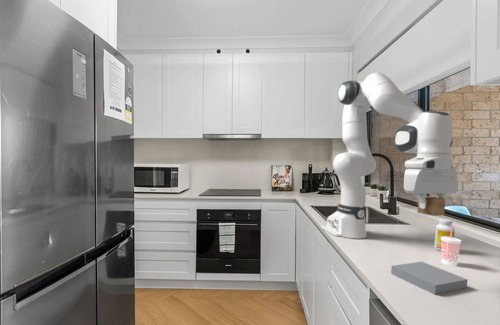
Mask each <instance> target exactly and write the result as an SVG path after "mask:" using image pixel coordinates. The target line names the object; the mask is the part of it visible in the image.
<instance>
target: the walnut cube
mask: <svg viewBox="0 0 500 325" xmlns="http://www.w3.org/2000/svg"><path fill="white" fill-rule="evenodd" d="M425 199H426V203H428V208H427V209H422V208H420V207H419V203H420V202H419V200H418V199H417V214H418V213H419V214H423V215H426V216H427V215H428V216H432V217H433V216H434V217H436V216H445V210H446V209H445V206H446V198H445V199H443V198H437V196H429V195H427V197H425Z"/></svg>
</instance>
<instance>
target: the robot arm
mask: <svg viewBox="0 0 500 325" xmlns="http://www.w3.org/2000/svg"><path fill="white" fill-rule="evenodd" d="M337 91H338V92H337V97H338V98H337V99H338V102H340V104H342V105H344V106H343V109H342V118H341V119H342V121H341V126H342V127H341V129H342V130H341V132H342V133H341V134H342V136H341V137H342V138H341V139H342V142H343V143H344V145H345V147H346V149H347V151H345V152H342V153H339V154H336V156H335V157H334V158H333V162H332V168H333V170H334V171H335V172H336V175H337V176H338V179H339V185H340V202H339V204H336V207H337V209H336V210H335V212H333V213H332V214H330V215H329V216H328V217H327V219H326V224H323V225H321V229H322V230H325V231H326V232H327V233H330V234H331V235H333V236H334V237H335V236H336V237H343V238H347V239H348V238H350V239H365V238H367V237H368V236H367V230H366V229H367V228H366V217H365V216H366V214H367V213H366V212H367V208H366V199H367V198H366V197H367V195H366V194H367V191H366V187H365V186H364V185H363V181H362V180H363V179H362V177H365V176H369V175H371V174H373V173H374V172H375V171H376V168H377V161H376V159H375V158H374V157H373V154H372V151H371V148H370V145H369V141H368V124H367V123H368V120H367V111H368V109H371V110H375V111H376V112H378V114H381V115H385V116H390V117H395V118H398V119H401V120H404V121H406V122H407V124H404V125H401V126H400V127H399V128H398V129H397V130H395V131H396V132H395V134H394V138H393V141H394V146H395V147H396V149H397V150H398V151H399V152H403V153H406V154H416V156H415V157H413V158H411V159H408V160H406V161H405V162H404V167H405V168H406V169H405V172H404V174H403V189H404V191H405V193H406V194H413V195H416V198H417V201H418V200H419V202H420V203H419V207H420V208H422V209H427V208H428V203H426V199H425V197H427V196H428V195H431V194H432V195H434V194H435V197H436V198H443V199H445V200H446V194H447V195H448V194H449V195H452V194H454V195H455V194H457V192H458V190H459V181H458V180H459V179H458V178H459V177H458V173H457V171H456V168H455V167H454V166H453V164H452V150H451V147H452V146H453V141H454V138H453V121H452V117H451V115H450V113H448V112H445V111H434V110H427V111H425V110H424V109H423V108H422V107H421V106H420V105H419V104H418V103H416V102H414V101H413V100H412V99H411V98H410V97H409V96H407V95H406V94H405V93H403V91H401V90H400V89H399V88H398V86H397V85H396V83H394V82H393V80H392V79H391V78H389V77H388V76H387V75H386V74H384V73H383V72H376V71H375V72H373V73H370V74H369V75H368V76H366V77H365V79H364V80H346V81H344V82H342V83H341V84H340V86H339V88H338V90H337Z"/></svg>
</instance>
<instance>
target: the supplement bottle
mask: <svg viewBox="0 0 500 325" xmlns="http://www.w3.org/2000/svg"><path fill="white" fill-rule="evenodd" d="M451 225H453V220H451V219H449V218H448V219H447V218H438V224H437V225H435V226H434V227H435V231H434V242H433V243H434V244H433V247H434V249H435V250H436V251H439V252H441V237H442V236H445V237H450V233H451ZM455 231H456V230H455V228H454V227H453V228H452V237H453V238H455V233H456V232H455Z"/></svg>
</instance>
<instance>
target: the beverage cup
mask: <svg viewBox="0 0 500 325" xmlns="http://www.w3.org/2000/svg"><path fill="white" fill-rule="evenodd" d="M452 228H454V227H453V224H452V225H451V233H450V237H445V236H442V237H441V251H440V252H441V254H440V255H441V256H440V257H441V258H440V260H441V263H442V264H444V265H447V266H450V267H452V266H453V267H456V266H458V260H459V254H460V247H461V243H462V239H459V238H456V237H454V238H453V237H452Z"/></svg>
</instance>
